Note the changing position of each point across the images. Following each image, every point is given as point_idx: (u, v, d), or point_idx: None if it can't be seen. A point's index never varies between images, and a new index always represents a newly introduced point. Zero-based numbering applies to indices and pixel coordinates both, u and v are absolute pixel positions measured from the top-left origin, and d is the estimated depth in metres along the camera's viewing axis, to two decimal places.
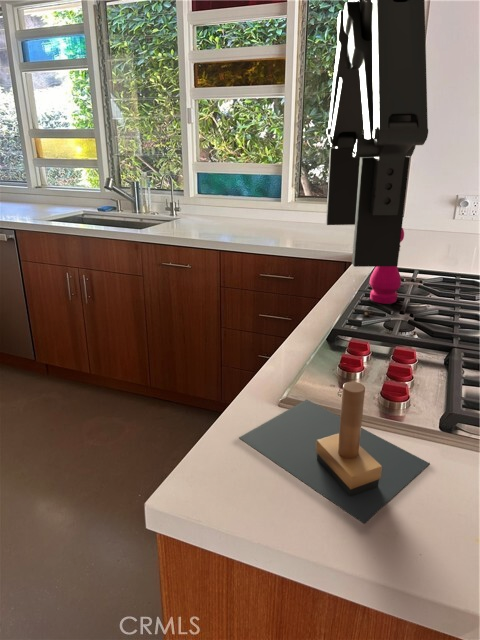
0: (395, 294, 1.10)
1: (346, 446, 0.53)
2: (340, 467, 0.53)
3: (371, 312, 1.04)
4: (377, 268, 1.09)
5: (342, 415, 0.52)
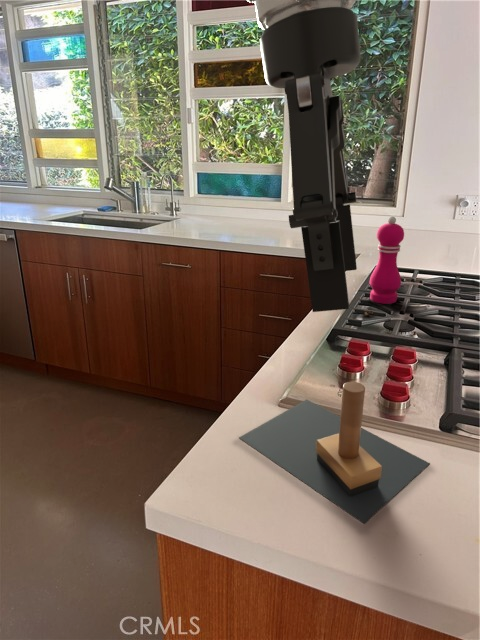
0: (395, 294, 1.10)
1: (346, 446, 0.53)
2: (340, 467, 0.53)
3: (371, 312, 1.04)
4: (377, 268, 1.09)
5: (342, 415, 0.52)
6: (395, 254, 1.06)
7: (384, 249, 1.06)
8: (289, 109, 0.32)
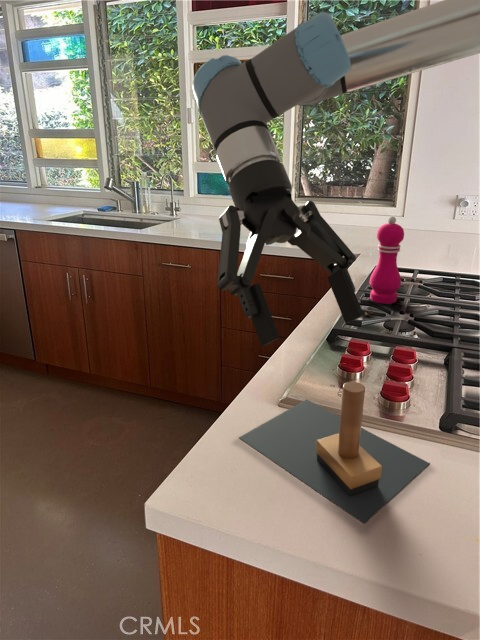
0: (395, 294, 1.10)
1: (346, 446, 0.53)
2: (340, 467, 0.53)
3: (371, 312, 1.04)
4: (377, 268, 1.09)
5: (342, 415, 0.52)
6: (395, 254, 1.06)
7: (384, 249, 1.06)
8: (222, 230, 0.54)
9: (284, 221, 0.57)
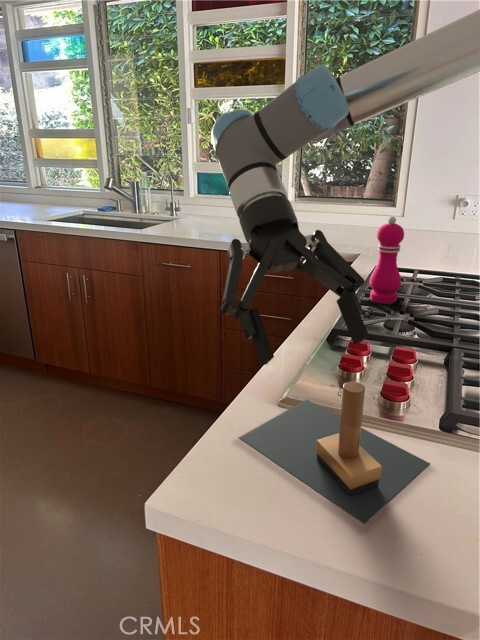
0: (395, 294, 1.10)
1: (346, 446, 0.53)
2: (340, 467, 0.53)
3: (372, 311, 1.04)
4: (377, 268, 1.09)
5: (342, 415, 0.52)
6: (395, 254, 1.06)
7: (384, 249, 1.06)
8: (229, 261, 0.61)
9: (288, 250, 0.61)
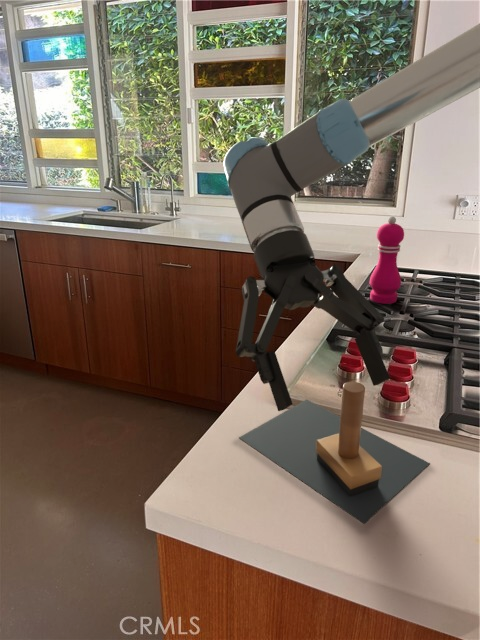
0: (395, 294, 1.10)
1: (346, 446, 0.53)
2: (340, 467, 0.53)
3: None
4: (377, 268, 1.09)
5: (342, 415, 0.52)
6: (395, 254, 1.06)
7: (384, 249, 1.06)
8: (244, 299, 0.58)
9: (305, 287, 0.59)
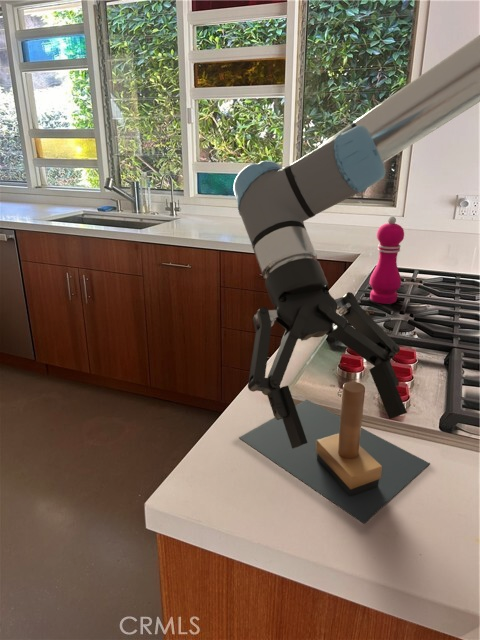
0: (395, 294, 1.10)
1: (346, 446, 0.53)
2: (340, 467, 0.53)
3: (372, 312, 1.04)
4: (377, 268, 1.09)
5: (342, 415, 0.52)
6: (395, 254, 1.06)
7: (384, 249, 1.06)
8: (255, 330, 0.56)
9: (319, 317, 0.57)
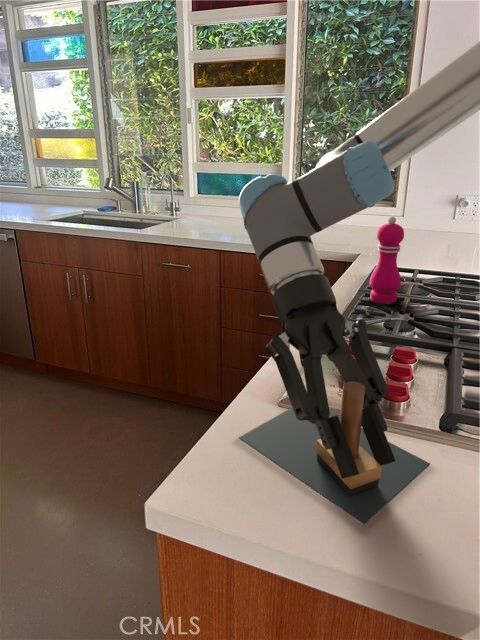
0: (395, 294, 1.10)
1: None
2: None
3: (372, 311, 1.04)
4: (377, 268, 1.09)
5: (342, 415, 0.52)
6: (395, 254, 1.06)
7: (384, 249, 1.06)
8: (274, 359, 0.55)
9: (327, 334, 0.56)
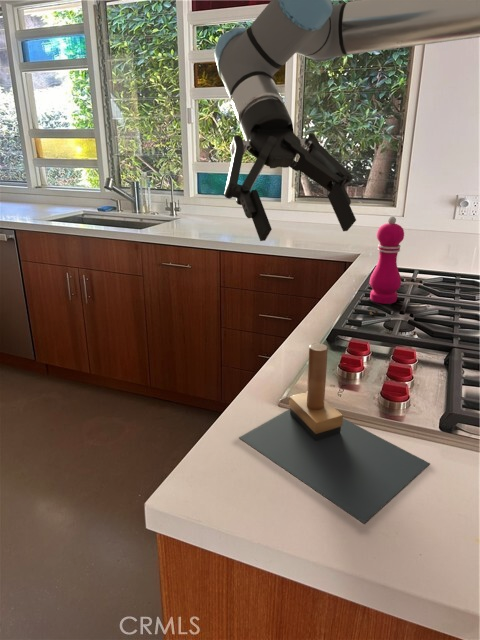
0: (395, 294, 1.10)
1: (313, 398, 0.62)
2: (307, 416, 0.62)
3: (376, 312, 1.04)
4: (377, 268, 1.09)
5: (309, 371, 0.62)
6: (395, 254, 1.06)
7: (384, 249, 1.06)
8: (231, 156, 0.68)
9: (284, 148, 0.69)
